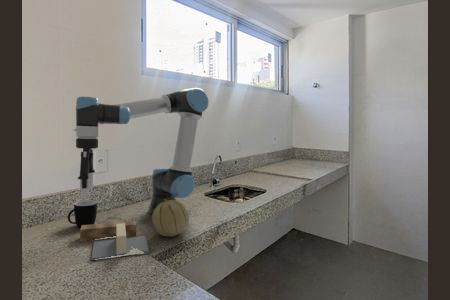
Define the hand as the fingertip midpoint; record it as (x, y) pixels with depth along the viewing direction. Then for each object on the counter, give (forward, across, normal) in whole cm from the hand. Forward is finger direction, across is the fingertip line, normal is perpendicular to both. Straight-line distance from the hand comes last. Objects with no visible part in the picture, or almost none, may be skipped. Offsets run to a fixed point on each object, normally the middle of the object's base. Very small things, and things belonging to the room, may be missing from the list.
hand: (87, 192), depth 103 cm
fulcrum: (+18, +14, +12) cm, 26 cm away
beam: (+18, +2, +8) cm, 20 cm away
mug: (+18, -13, -3) cm, 22 cm away
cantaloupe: (+18, +7, +31) cm, 37 cm away
